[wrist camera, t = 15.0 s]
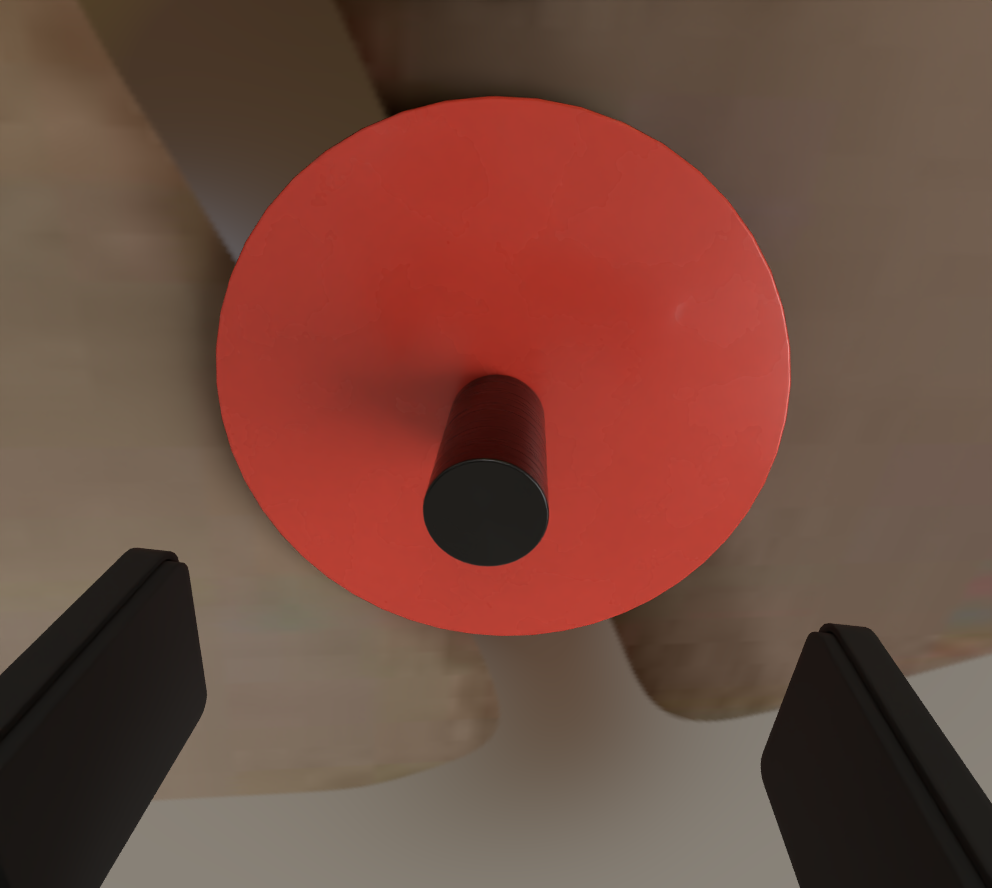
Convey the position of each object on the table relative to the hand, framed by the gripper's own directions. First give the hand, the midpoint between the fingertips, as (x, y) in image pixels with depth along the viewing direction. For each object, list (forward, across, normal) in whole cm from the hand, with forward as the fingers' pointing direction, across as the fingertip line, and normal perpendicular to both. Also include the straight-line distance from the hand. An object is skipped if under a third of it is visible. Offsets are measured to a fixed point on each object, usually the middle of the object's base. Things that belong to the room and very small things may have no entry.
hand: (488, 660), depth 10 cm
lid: (+9, 0, 0) cm, 9 cm away
